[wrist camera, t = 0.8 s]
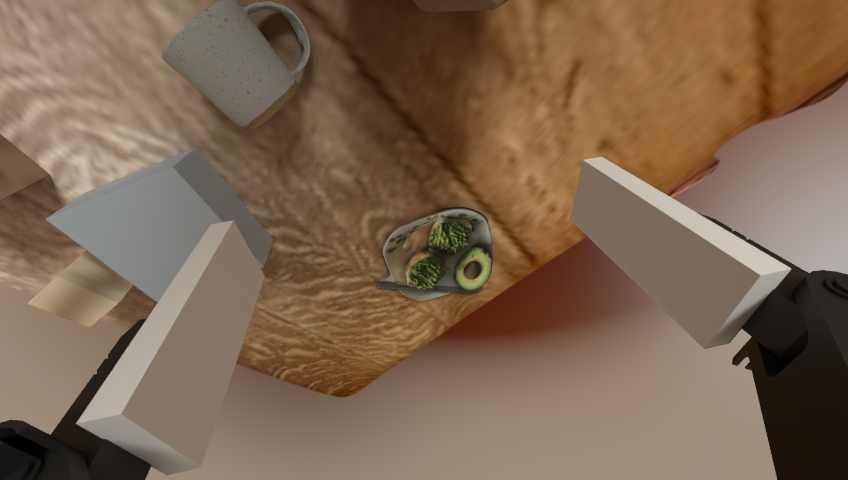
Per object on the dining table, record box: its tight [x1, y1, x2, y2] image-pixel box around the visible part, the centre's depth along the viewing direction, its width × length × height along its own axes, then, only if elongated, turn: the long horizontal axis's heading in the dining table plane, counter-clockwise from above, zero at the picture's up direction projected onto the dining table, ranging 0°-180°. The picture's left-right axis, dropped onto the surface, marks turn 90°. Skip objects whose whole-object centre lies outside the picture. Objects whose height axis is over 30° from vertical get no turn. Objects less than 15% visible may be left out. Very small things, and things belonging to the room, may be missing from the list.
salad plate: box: [376, 207, 493, 301], centre depth 48 cm, size 19×18×5 cm
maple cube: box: [28, 250, 133, 327], centre depth 39 cm, size 6×6×6 cm
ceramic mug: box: [162, 0, 310, 130], centre depth 28 cm, size 11×8×8 cm
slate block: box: [46, 147, 274, 303], centre depth 37 cm, size 14×14×6 cm
